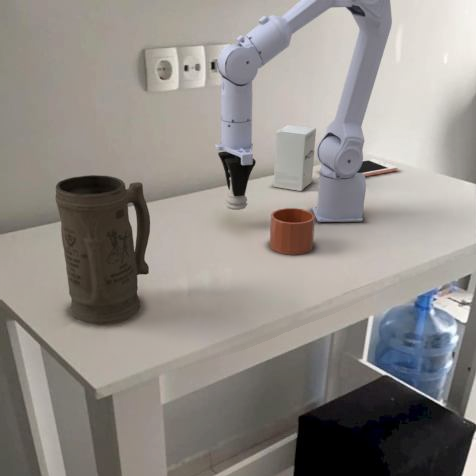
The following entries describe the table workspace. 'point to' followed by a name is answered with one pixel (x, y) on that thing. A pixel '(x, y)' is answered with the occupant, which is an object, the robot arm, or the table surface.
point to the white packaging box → (294, 157)
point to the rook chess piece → (235, 200)
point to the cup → (292, 231)
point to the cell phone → (375, 167)
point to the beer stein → (102, 246)
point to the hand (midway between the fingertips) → (236, 192)
